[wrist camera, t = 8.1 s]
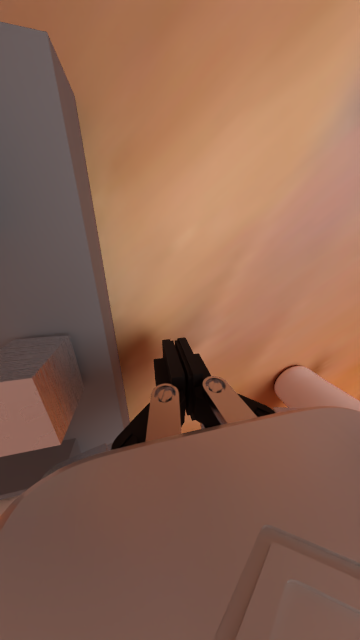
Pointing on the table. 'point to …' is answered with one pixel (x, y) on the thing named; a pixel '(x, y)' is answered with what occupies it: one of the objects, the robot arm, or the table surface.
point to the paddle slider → (37, 392)
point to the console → (52, 247)
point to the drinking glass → (310, 390)
